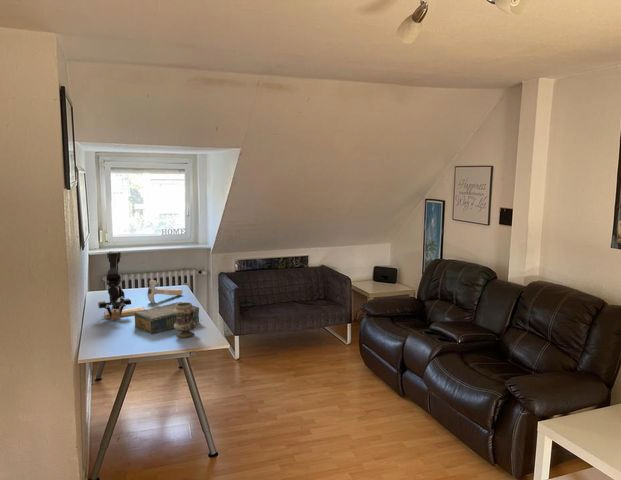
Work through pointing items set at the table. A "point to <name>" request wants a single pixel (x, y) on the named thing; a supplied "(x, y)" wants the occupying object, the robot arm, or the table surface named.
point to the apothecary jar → (184, 319)
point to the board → (125, 312)
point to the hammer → (160, 291)
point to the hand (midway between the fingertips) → (115, 316)
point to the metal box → (159, 318)
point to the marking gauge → (115, 314)
